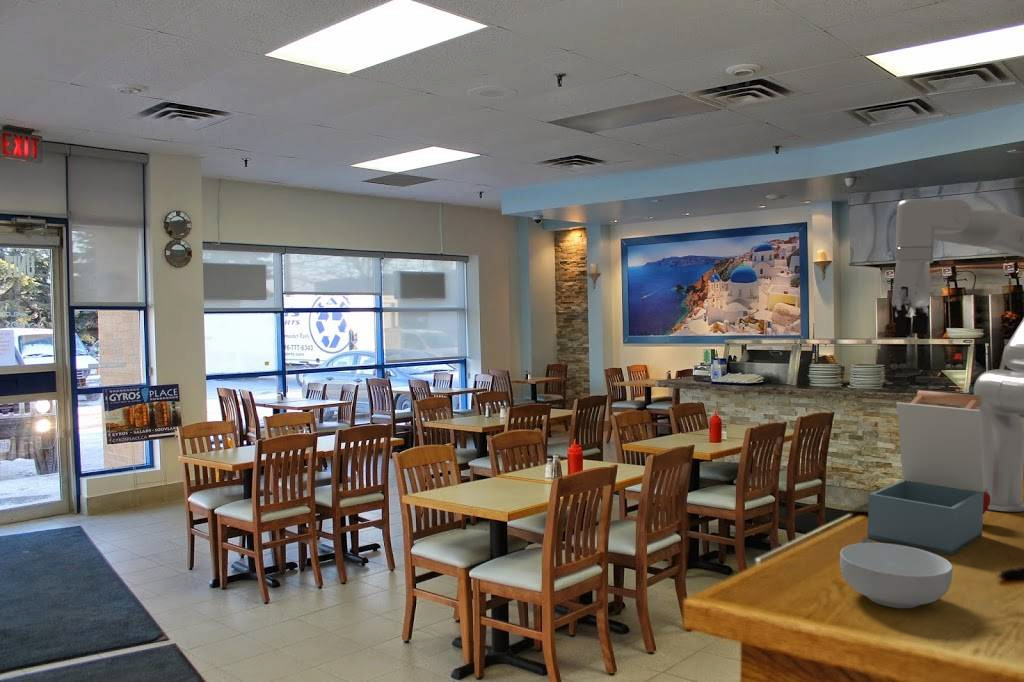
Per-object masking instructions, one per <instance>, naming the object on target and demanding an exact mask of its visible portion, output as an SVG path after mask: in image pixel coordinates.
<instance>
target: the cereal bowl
mask: <svg viewBox="0 0 1024 682" xmlns="http://www.w3.org/2000/svg"><path fill="white" fill-rule="evenodd" d="M839 566H840V571H841V574H842V577H843V578H844V581H845V582H846V583H847V584H848V585H849V587H851V589H854V590H855V591H856V592H858V593H860V594H861V595H863V596H865V597H867V599H868V600H870V601H871V602H872V603H875V604H878V605H881V606H885V607H889V608H895V609H912V608H916V607H918V606H920V605H926V604H931V603H933V602H937V601H938V600H939V599H941V598H943V596H945V595H946V594H947V592H948V591H949V589H950V587H951V584H952V580H953V579H952V578H953V570H954V568H953V567H954V566H953V565H952V563H951V562H950V561H949V560H948V559H946V558H944V557H943V556H940V555H938V554H937V553H934V552H931V551H928V550H923V549H918V548H914V547H909V546H904V545H899V544H895V543H888V542H885V543H884V542H883V543H882V542H879V543H860V542H858V543H857V544H855V543H853V544H848V545H847V546H844V547H843V548H842V549H841V550H840V552H839Z"/></svg>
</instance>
